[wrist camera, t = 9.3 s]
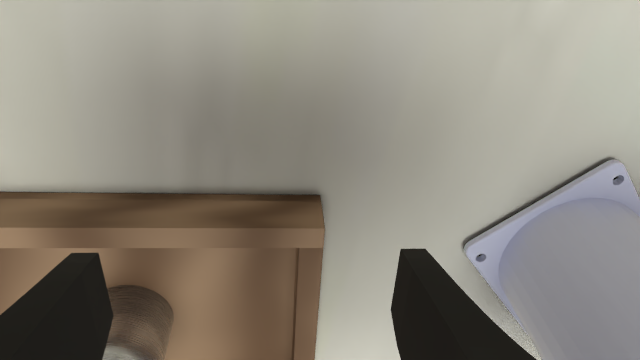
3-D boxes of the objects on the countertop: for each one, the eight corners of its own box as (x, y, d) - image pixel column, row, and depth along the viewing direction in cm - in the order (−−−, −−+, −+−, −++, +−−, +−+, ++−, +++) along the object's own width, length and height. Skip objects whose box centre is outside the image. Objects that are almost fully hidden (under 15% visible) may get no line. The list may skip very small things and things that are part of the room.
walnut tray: (320, 195, 22) (324, 228, 20) (306, 392, 29) (308, 432, 27) (-113, 191, 20) (-158, 227, 18) (-14, 402, 27) (-39, 445, 25)
